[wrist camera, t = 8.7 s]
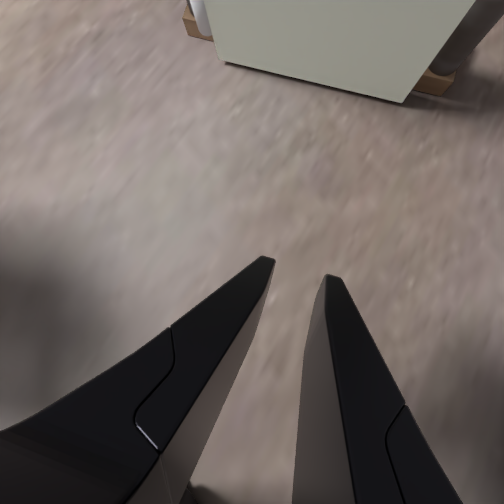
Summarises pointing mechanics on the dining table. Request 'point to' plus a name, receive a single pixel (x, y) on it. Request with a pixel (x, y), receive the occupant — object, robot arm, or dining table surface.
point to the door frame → (450, 55)
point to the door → (334, 39)
